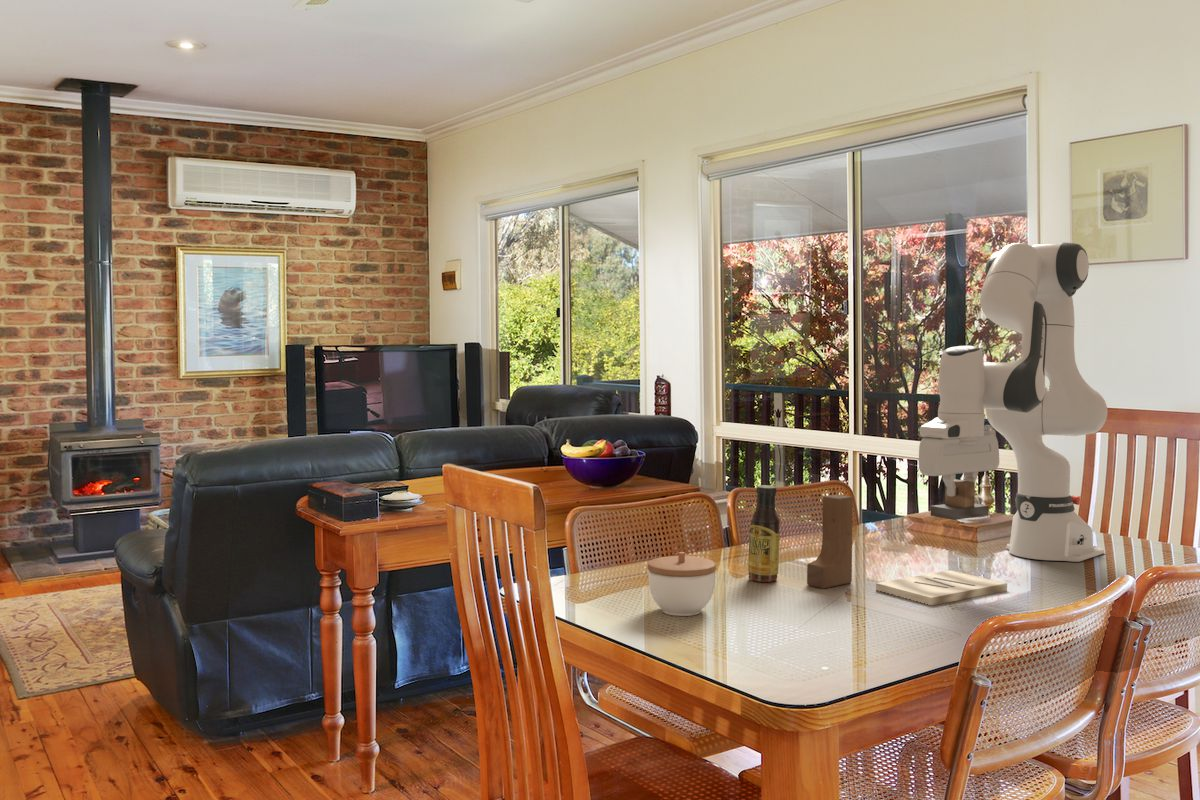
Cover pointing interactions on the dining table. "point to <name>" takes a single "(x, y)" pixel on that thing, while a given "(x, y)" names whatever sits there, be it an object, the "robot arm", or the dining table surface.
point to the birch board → (941, 587)
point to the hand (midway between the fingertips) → (959, 495)
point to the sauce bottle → (764, 537)
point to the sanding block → (960, 503)
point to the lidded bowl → (681, 583)
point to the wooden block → (834, 545)
